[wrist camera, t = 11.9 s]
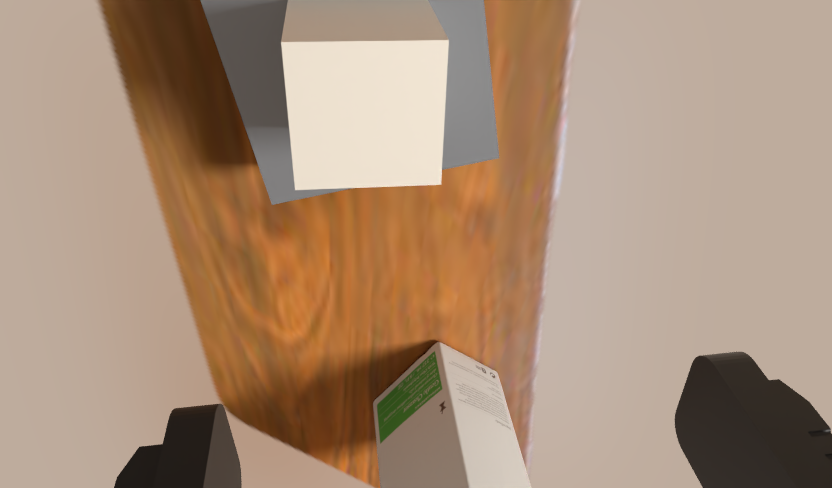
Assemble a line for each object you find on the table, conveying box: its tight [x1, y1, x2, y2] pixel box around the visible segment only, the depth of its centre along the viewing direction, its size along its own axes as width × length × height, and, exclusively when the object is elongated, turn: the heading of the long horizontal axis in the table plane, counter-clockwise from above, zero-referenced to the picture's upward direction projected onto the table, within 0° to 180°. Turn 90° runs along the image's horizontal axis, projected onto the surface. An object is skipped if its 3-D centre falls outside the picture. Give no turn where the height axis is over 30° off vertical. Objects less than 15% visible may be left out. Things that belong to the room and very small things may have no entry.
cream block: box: [281, 0, 449, 190], centre depth 27 cm, size 6×6×6 cm
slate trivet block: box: [200, 0, 499, 205], centre depth 32 cm, size 12×12×5 cm
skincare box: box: [373, 342, 531, 488], centre depth 43 cm, size 8×7×16 cm
